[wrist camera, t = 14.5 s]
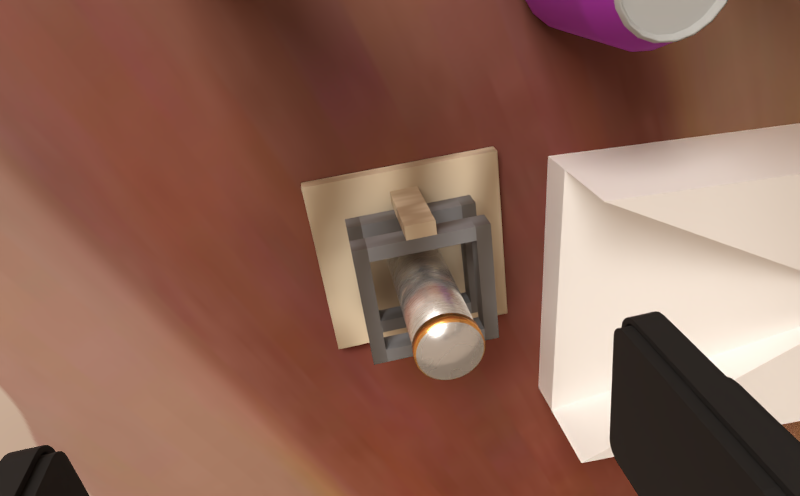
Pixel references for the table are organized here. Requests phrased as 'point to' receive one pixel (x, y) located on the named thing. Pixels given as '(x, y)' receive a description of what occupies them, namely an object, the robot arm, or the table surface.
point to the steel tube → (436, 316)
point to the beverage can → (628, 20)
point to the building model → (672, 267)
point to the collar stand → (407, 242)
